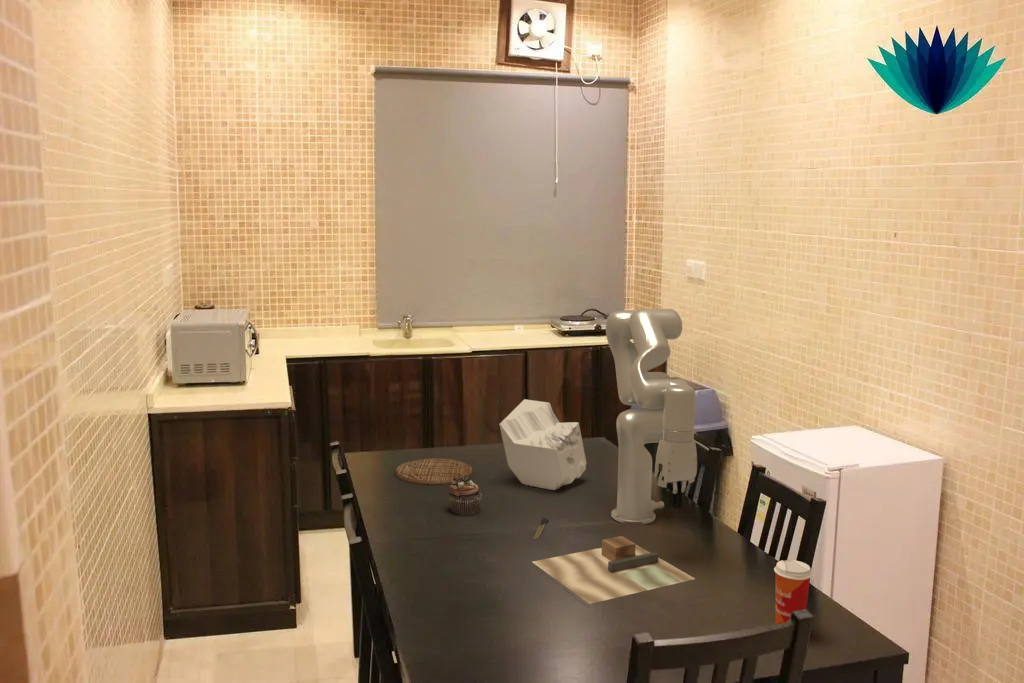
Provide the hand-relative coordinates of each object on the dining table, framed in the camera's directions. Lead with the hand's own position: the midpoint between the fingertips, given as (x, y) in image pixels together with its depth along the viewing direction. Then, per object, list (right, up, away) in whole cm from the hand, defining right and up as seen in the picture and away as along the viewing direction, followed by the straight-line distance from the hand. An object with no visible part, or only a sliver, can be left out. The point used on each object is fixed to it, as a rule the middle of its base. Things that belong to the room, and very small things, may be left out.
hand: (675, 507), depth 219 cm
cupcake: (-54, -8, +37) cm, 66 cm away
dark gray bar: (-11, -14, -3) cm, 18 cm away
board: (-16, -15, -6) cm, 23 cm away
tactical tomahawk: (-32, -12, +20) cm, 40 cm away
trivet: (-66, -3, +72) cm, 98 cm away
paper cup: (+18, -20, -32) cm, 42 cm away
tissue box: (-30, -5, +62) cm, 69 cm away
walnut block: (-14, -13, +2) cm, 19 cm away
